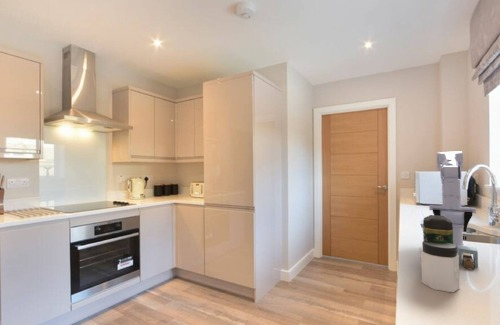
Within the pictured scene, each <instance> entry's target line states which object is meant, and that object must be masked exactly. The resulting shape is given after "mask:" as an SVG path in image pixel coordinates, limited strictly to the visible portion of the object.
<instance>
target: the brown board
mask: <svg viewBox="0 0 500 325" xmlns="http://www.w3.org/2000/svg"><path fill="white" fill-rule="evenodd" d="M462 264H463V268H464V269H468V270H475V269H474V268H475V266H474V263H473V254H468V253H462Z"/></svg>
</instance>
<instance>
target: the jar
mask: <svg viewBox="0 0 500 325" xmlns="http://www.w3.org/2000/svg"><path fill="white" fill-rule="evenodd" d="M421 243H422V250H421V251H420V258H421V259H420V262H421V263H420V264H421V267H420V268H421V269H420V270H421V283H422V284H424V285H425V286H427V287H429V288H430V289H432V290H436V291H440V292H448V293H452V294H453V293H455V292H456V291H458V290H459V289H461V288H460V285H461V283H460V264H459V256H458V249H457V246H456V245H454V244H451V243H447V242H442V241H431V240H429V241H424V240H423V241H422V242H421Z"/></svg>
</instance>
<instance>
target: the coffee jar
mask: <svg viewBox="0 0 500 325" xmlns="http://www.w3.org/2000/svg"><path fill="white" fill-rule="evenodd" d="M422 220H423V221H422V222H423V225H422V226H423V227H422V228H423V230H422V231H423V232H422V236H423V241H429V240H431V241H442V242H447V243H451V244H453V223H452V221H451V220H449V219H447V218H445V217H444V216H438V215H434V214H431V215H428V216H424V217H423V219H422Z"/></svg>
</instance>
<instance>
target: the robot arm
mask: <svg viewBox="0 0 500 325" xmlns="http://www.w3.org/2000/svg"><path fill="white" fill-rule="evenodd" d="M463 163H464V154H463V151H461V150H459V151H441V152H440V151H437V152H436V164H437V165H436V166H437V167H436V168H437V171H439V172H440V173H439V174H440V181H441V192H442V197H441V198H442V204H441V205H439V204H438V205H436V204H429V207H428V208H429V209H428V210H429V211H432V215H438V216H444V217H445V218H447V219H449V220H451V221H452V223H453V244H454V245H456V246H457V250H458V245H459V246H465V245H464V244H465V243H464V239H463V238H464V237H463V236H464V235H463V233H465V232H467V229H468V228H467V227H468V225H469V222H470V221H471V218H472V217H473V216H474V215H473V214H477V208H476V207H468V206H462V205H461V204H462V203H461V202H462V201H461V180H462V170H463V167H464V166H463Z"/></svg>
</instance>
